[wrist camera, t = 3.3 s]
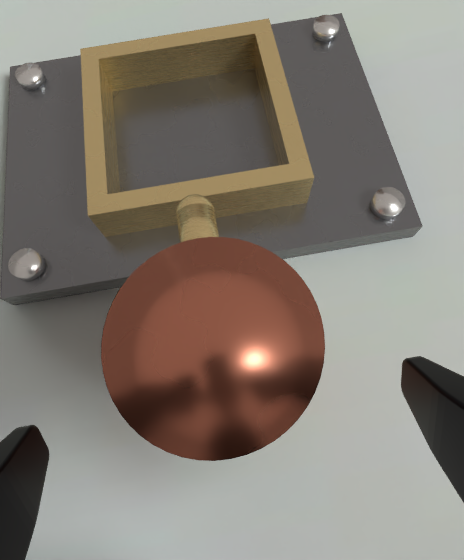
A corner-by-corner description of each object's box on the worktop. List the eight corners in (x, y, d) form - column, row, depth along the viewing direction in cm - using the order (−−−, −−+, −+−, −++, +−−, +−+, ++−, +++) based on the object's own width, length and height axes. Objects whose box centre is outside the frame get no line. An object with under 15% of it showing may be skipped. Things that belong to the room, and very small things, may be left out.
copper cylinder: (297, 424, 18) (351, 437, 8) (182, 445, 18) (107, 480, 8) (266, 276, 20) (280, 159, 11) (165, 294, 20) (92, 190, 11)
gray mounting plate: (413, 236, 21) (444, 202, 18) (14, 305, 20) (-31, 284, 17) (337, 30, 26) (350, -25, 23) (20, 82, 26) (-13, 33, 23)
